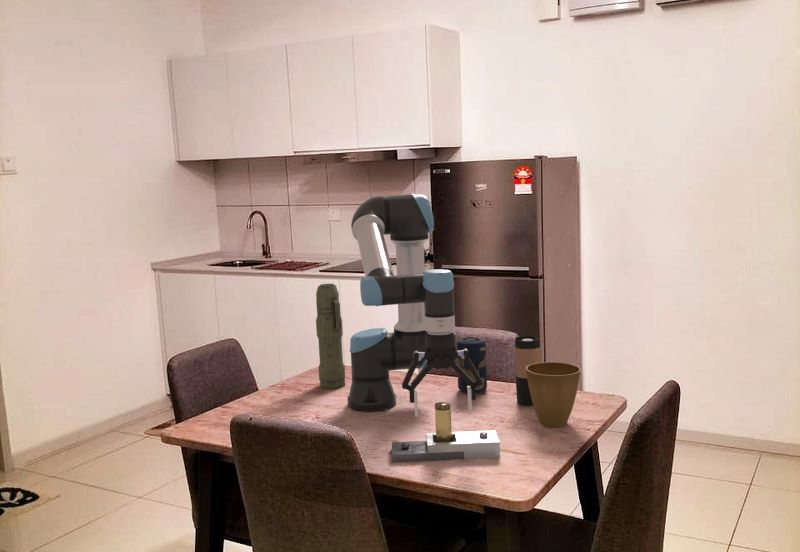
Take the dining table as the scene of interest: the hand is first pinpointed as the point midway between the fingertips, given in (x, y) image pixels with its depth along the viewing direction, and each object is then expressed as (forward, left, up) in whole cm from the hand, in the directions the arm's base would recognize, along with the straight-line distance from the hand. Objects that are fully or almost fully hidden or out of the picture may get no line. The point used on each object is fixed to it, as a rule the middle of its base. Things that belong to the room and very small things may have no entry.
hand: (443, 413), depth 200 cm
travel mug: (-8, +48, -11) cm, 50 cm away
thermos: (-73, +25, -11) cm, 78 cm away
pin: (0, 0, -10) cm, 10 cm away
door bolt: (0, 0, -10) cm, 10 cm away
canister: (-30, +48, -11) cm, 57 cm away
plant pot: (+9, +36, -11) cm, 39 cm away
